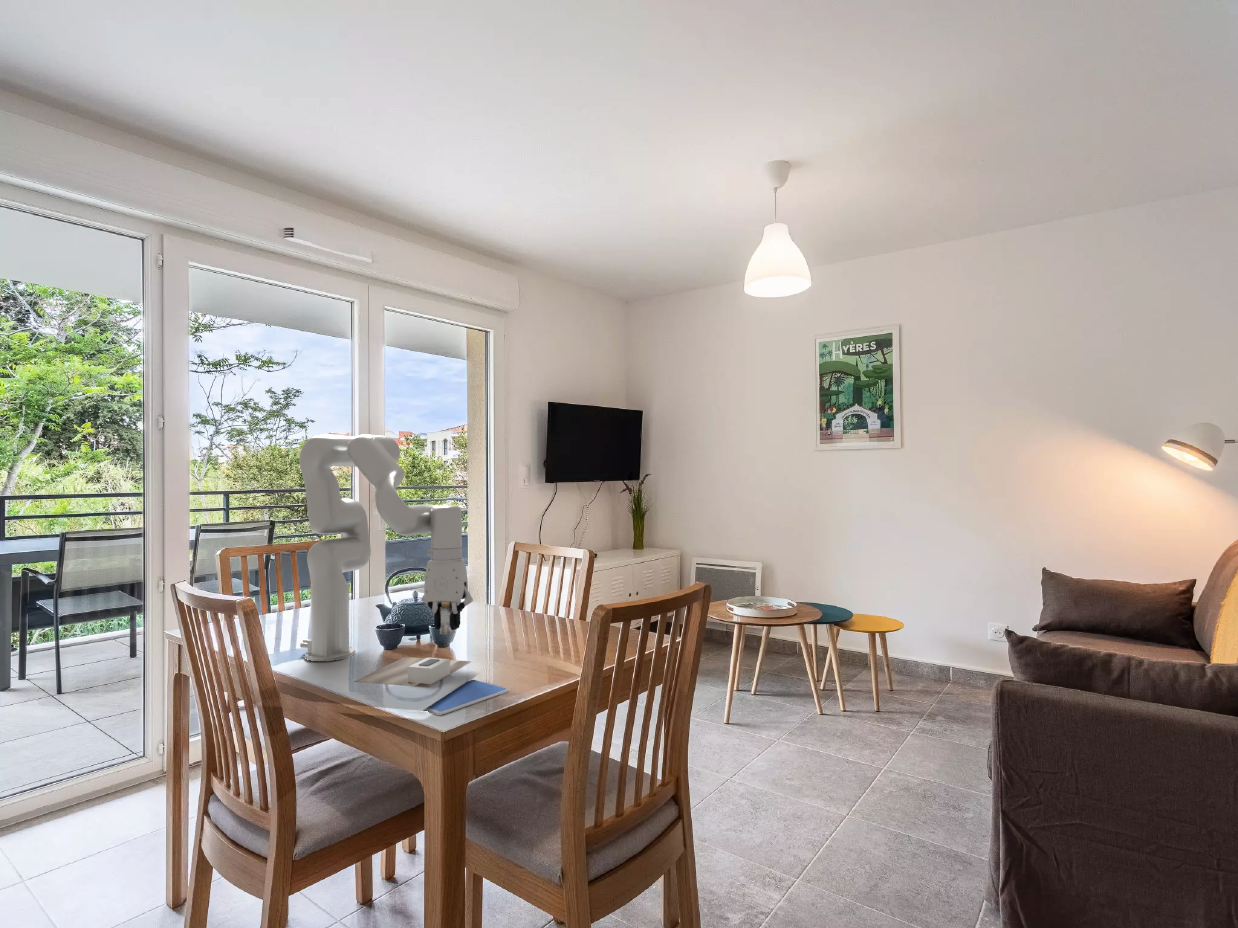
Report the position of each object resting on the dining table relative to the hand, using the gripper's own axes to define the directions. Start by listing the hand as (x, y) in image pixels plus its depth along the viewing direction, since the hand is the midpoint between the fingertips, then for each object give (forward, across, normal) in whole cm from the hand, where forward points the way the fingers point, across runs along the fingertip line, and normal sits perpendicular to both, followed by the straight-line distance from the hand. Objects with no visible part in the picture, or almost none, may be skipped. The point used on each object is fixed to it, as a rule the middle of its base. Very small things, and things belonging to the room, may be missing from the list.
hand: (447, 627), depth 165 cm
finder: (+9, +1, -10) cm, 14 cm away
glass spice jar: (+1, 0, 0) cm, 1 cm away
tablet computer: (+12, +12, -17) cm, 24 cm away
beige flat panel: (+11, -5, -6) cm, 13 cm away
